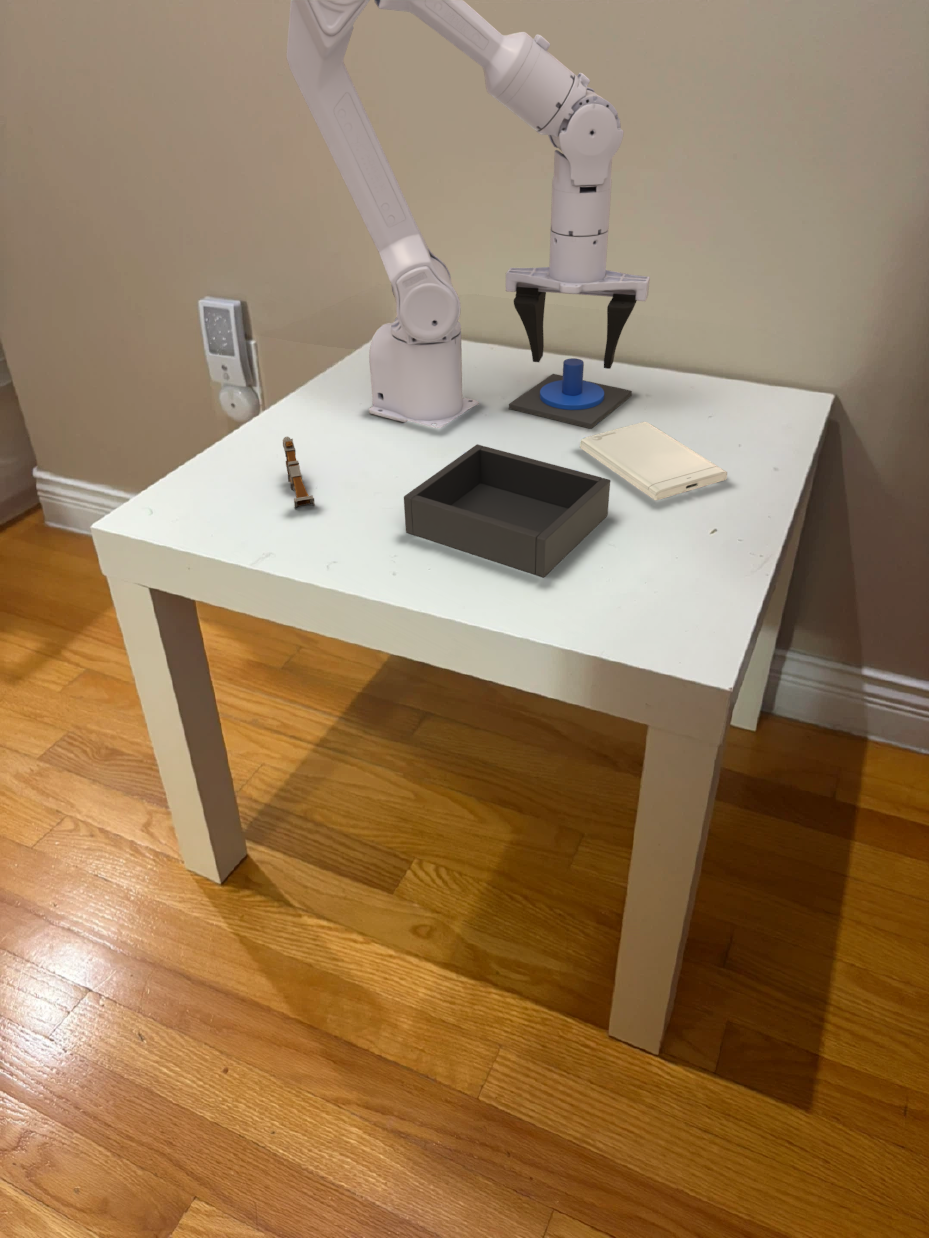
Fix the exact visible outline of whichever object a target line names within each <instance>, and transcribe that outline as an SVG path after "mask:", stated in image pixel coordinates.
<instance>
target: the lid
mask: <svg viewBox="0 0 929 1238" xmlns="http://www.w3.org/2000/svg"><path fill="white" fill-rule="evenodd" d="M584 365H585V362H584V360H583V359H581V358H574V357H573V358H572V357H571V358H566V359H564V360H563V362H562V376H563V379H562V380H560V381H554V382H551V383H548V384H546V385H545V386H543V387H542V388H541V390H540V399H541V400H542V401H543V402H544V403H545V404H547V405H549V406H551V407H554V408H559V409H565V410H581V409H588V408H592V407H595V406H597V405H599V404H600V403H601V402H602V401H603V399H604V391H603V389H602V388H601V387H600V386H598V385H596V384H594V383H595V382H594V383H591V382H592V381H589V382H587V381H588V380H585V381H583V380H584Z"/></svg>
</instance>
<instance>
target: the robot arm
mask: <svg viewBox="0 0 929 1238" xmlns="http://www.w3.org/2000/svg"><path fill="white" fill-rule="evenodd" d="M370 1H371V0H290V3H289V4H290V5H289V17H288V30H287V44H286V61H287V64H288V68H289V71H290V72H291V75H292V76H293V79H294V80H295V83H296V85H297V87H298V89H299V92H300V93H301V95H302V97H303V99H304V102H305V103H306V106H307V108H308V109H309V112H310V114H311V116H312V118H313V120H314V122H315V125H316V126H317V128H318V131H319V132H320V134H321V137H322V138H323V140H324V143H325V145H326V147H327V149H328V151H329V153H330V155H331V157H332V159H333V161H334V163H335V166H336V167H337V170H338V172H339V173H340V176H341V178H342V180H343V182H344V184H345V186H346V188H347V190H348V192H349V194H350V197H351V199H352V201H353V203H354V204H355V206H356V209H357V211H358V213H359V215H360V217H361V219H362V221H363V224H364V225H365V227H366V229H367V232H368V234H369V236H370V238H371V240H372V242H373V244H374V246H375V248H376V250H377V252H378V255H379V257H380V259H381V262H382V264H383V267H384V270H385V272H386V276H387V278H388V280H389V282H390V286H391V293H392V295H393V297H394V301H395V306H396V307H395V309H396V310H395V311H396V317H395V318H394V320H393V321H392V322H385V323H383V324H382V325H380V327H378V328H377V330H376V331H375V332H374V334H373V336H372V338H371V341H370V345H369V351H368V358H369V359H368V361H369V363H368V364H369V376H370V385H371V387H370V388H371V400H372V406H370V407H369V408H368V413H369V414H371V415H375V416H378V417H382V418H386V419H391V420H393V421H396V422H397V421H398V422H400V423H407V422H411V423H416V424H418V425H423V426H426V427H431V428H434V429H441V428H443V427H444V426H446V425H448V424H449V423H451V422H452V421H453V420H455V419H457V418H458V417H459V416H462V415H463V414H464V413H466V412H467V411H469V410H470V409H472V408H473V407H475V406H479V404H480V402H479V401H478V400H476V399H473V398H472V399H471V398H467V397H463V396H464V395H463V357H462V356H463V355H462V354H463V353H462V324H461V323H460V321H459V320H460V317H461V311H462V310H461V309H462V307H461V300H460V297H459V295H458V293H457V291H456V289H455V288H454V285H453V283H452V276H451V273H450V269H449V268H448V266H447V265H446V264H445V262H444V261H443V260H442V259H441V258H439V257H438V256H436V254H434V253H433V252H432V251H431V249H430V248H429V246H428V244H427V242H426V239H425V237H424V235H423V233H422V232H421V229H420V228H419V226H418V223H417V222H416V219H415V217H414V214H413V212H412V211H411V208H410V206H409V204H408V201H407V199H406V197H405V194H404V192H403V190H402V188H401V186H400V184H399V181H398V180H397V177H396V175H395V172H394V171H393V168H392V166H391V164H390V161H389V159H388V157H387V155H386V153H385V150H384V148H383V146H382V144H381V141H380V140H379V137H378V135H377V132H376V131H375V129H374V126H373V124H372V122H371V120H370V117H369V115H368V113H367V110H366V109H365V105H364V104H363V102H362V98H361V97H360V95H359V93H358V91H357V89H356V86H355V84H354V81H353V79H352V78H351V75H350V73H349V71H348V68H347V66H346V64H345V61H344V60H345V56H346V53H347V50H348V46H349V43H350V41H351V37H352V35H353V30H354V25H355V23H356V21H357V20H358V18H359V16H360V15H361V14H362V12H363V11H364V10H365V8H366V7H367V5H368V3H369V2H370ZM374 3H375V5H376V7H377V8H378V10H385V11H394V12H403V13H404V12H405V13H410V14H412V15H414V16H415V17H416V18H418V20H420V21H421V22H423V23H424V24H425V25H427V26H428V27H429V28H431V29H432V30H433V31H434V32H436V33H437V34H439V35H440V37H443V39H445V40H446V41H448V42H449V43H450V44H452V45H453V46H454V47H456V48H457V49H458V50H459V51H461V52H462V54H464V55H466V56H467V57H468V58H470V59H471V60H473V62H475V63H477V64H478V65H479V66H480V67H481V68H482V70H483V75H484V82H485V83H484V84H485V89H486V92H487V94H489V95H490V96H491V97H493V99H495V100H496V101H497V102H499V103H500V104H501V105H502V106H504V108H506V109H507V110H509V111H510V112H511V113H513V114H514V115H515V116H516V117H518V118H519V119H520V120H521V121H523V122H524V123H525V124H526V125H527V126H529V127H530V128H531V129H532V130H534V131H535V132H536V133H538V134H539V135H541V136H547V137H548V139H549V142H550V143H551V145H552V146H553V147H554V148H556V150H555V149H554V157H553V177H552V179H551V180H552V181H551V205H550V206H551V208H550V229H549V230H550V232H549V234H550V235H549V262H548V265H549V266H539V267H538V266H537V267H509V268H508V270H507V271H506V272H505V292H509V293H515V297H514V298H513V307H514V309H515V310H516V312H517V314H518V316H519V318H520V321H521V322H522V325H523V328H524V330H525V332H526V336H527V339H528V342H529V348H530V351H531V358H532V363H540V362H541V360H542V358H543V356H544V348H545V343H544V340H545V339H544V338H545V337H544V318H545V305H546V296H547V293H551V294H568V295H579V296H594V297H595V296H596V297H607V298H608V297H609V298H611V299H610V301H609V302H608V304H607V307H606V308H607V309H606V314H607V316H606V317H607V318H606V322H607V323H606V343H605V349H604V356H603V369H609V370H611V368H612V366H613V364H614V359H615V354H616V350H617V346H618V343H619V340H620V337H621V335H622V332H623V329H624V327H625V325H626V323H627V321H628V320H629V317H630V316H631V314H632V313H633V310H634V308H635V306H636V304H637V302H646V301H647V300H648V297H649V292H650V283H651V282H650V281H651V276H648V275H638V274H631V273H626V272H620V271H615V270H609V269H607V256H608V244H609V243H608V242H609V230H610V229H609V227H610V215H611V213H610V212H611V200H612V199H611V198H612V185H613V184H612V183H613V181H612V171H613V170H612V168H613V157H615V155H616V154H617V153H618V151H619V150H620V148H621V145H622V142H623V139H624V133H625V131H624V130H623V129H622V128H621V126H622V125H621V119H620V117H619V113H618V111H617V109H616V107H615V106H614V105H613V104H612V103H611V102H610V101H609V100H608V99H606V98H604V97H602V96H601V95H599V94H598V93H596V92H595V89H594V88H592V87H589V84H590V82H591V79H590V78H589V77H588V76H586V75H585V74H584V73H582V72H579V73H578V74H576V73H574V72H573V71H572V70H571V69H570V68H568V67H567V66H566V65H565V64H563V62H561V61H560V60H559V59H557V57H556V56H554V55H553V54H552V53H551V52H550V51H548V50H549V48H550V46H551V43H550V42H549V41H548V40H547V38H545V37H544V36H542V35H541V34H538V33H537V34H535V36H534V37H533V36H531V35H529V33H527V32H526V31H519V32H514V33H510V34H502V33H501V32H500V31H499V30H497V29H496V28H495V27H494V26H493V25H492V24H491V23H489V22H488V21H487V20H486V19H485V18H484V17H483V16H482V15H481V14H479V13H478V12H477V10H475V9H474V8H473V7H472V6H470V5H469V3H467V2H466V1H465V0H374ZM558 149H559V150H558Z"/></svg>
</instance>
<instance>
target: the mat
mask: <svg viewBox="0 0 929 1238" xmlns="http://www.w3.org/2000/svg"><path fill="white" fill-rule="evenodd" d="M562 379H563V374H557V373H552V374H550V375H549V376H547V377H546V378H544V379H543V380H541V381H540V382H539V383H537V384H536V385H534V386H533V387H531V388H530V389H528V390H527V391H526V392H524V393H522V395H519V397H517V398H515V399H514V400H512V401H511V402H509V404H508V409H509V410H511V411H512V410H513V411H516V412H520V413H525V414H529V415H533V416H537V417H542V418H546V419H550V420H553V421H558V422H562V423H566V424H570V425H575V426H578V427H579V426H580V427H583V428H587V429H593V428H594V427H595V426H596V425H598V424H599V423H600V422H601V421H602V420H604V419H605V418H606V417H607V416H609V415H610V414H612V413H613V412H614V411H615V410H616V409H617V408H619V407H620V406H621V405H622V404H623V403H624V402H626V401H627V400H628V399H629V398H631V397H632V396H633V391H632V390H630V389H625V388H621V387H617V386H612V385H608V384H603V383H599V382H593V381H588V380H584V379H583V381H587V382H591V383H594V384H596V385H598V386H600V387H601V388H602V389H603V391H604V399H603V401H602V402H601V403H600V404H599V405H597V406H595V407H592V408H588V409H581V410H565V409H559V408H554V407H551V406H549V405H547V404H545V403H544V402H543V401H542V400H541V399H540V390H541V388H542V387H543V386H545V385H546V384H548V383H551V382H554V381H560V380H562Z"/></svg>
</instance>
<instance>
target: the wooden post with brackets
mask: <svg viewBox="0 0 929 1238" xmlns="http://www.w3.org/2000/svg"><path fill="white" fill-rule="evenodd" d="M282 447H283V451H284V454H285V458H286V459H285V468H286V472H287V482H288V483H290V490H293V491H294V493H295V498H293V505H294V508H298V507H299V506H305V505H310V506H312V505H313V507H315V506H316V505H315V497H314V495H313V494H312V495H309V493H308V491H307V489H306V486H305V484H304V482H303V473H302V472H301V469H300V468H301V467H300V462H299V460H297V456H296V452H297V451H296V448H295V444H294V438H291V437H289V436H284V437H283V439H282Z"/></svg>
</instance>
